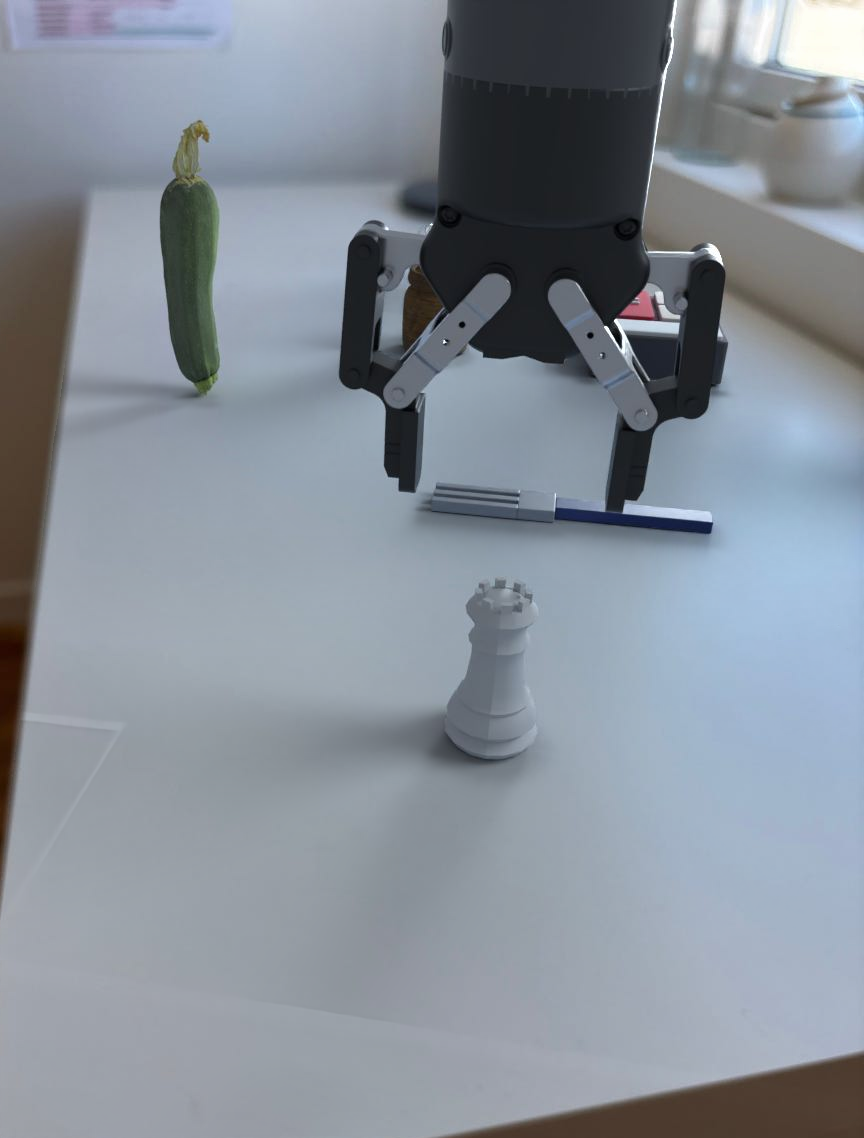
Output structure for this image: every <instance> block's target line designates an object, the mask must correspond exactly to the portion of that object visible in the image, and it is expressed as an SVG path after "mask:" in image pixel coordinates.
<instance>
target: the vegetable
mask: <svg viewBox="0 0 864 1138" xmlns="http://www.w3.org/2000/svg"><path fill="white" fill-rule="evenodd" d="M182 133H183V134H182V135H180V142H179V143H178V146H177V149H176V151H175V156H174V158H173V162H172V168H171V169H172V171H173V173H174V174H175V175H174V176H175V177H174V178H173V179H172V180H171V181H169V183H168V184H167V185H166V187H165V188H164V190H163V193H162V195H161V199H160V204H159V241H160V251H161V258H162V267H163V281H164V282H163V283H164V289H165V299H166V306H167V317H168V318H167V319H168V329H169V337H170V342H171V346H172V349H173V353H174V356H175V359H176V363H177V365H178V368H179V369H178V370H179V371H180V373H181V374H182V375H183V377H184V378H185V379H186V380H188V381H190V382H191V383H192V384H193V386H194V387H195V389H196V390H198V392H200V393H201V394H202V395H204V396H207V392H210V390H211V389H212V388H213V386H214V384H215V383H216V382H218V381H219V380H218V379H219V374H218V371H219V370H220V365H221V355H220V349H219V341H218V335H217V334H218V332H217V325H216V324H217V323H216V317H215V311H214V301H213V298H214V297H213V283H214V282H213V281H214V274H215V269H216V264H217V257H218V244H219V236H220V234H219V233H220V209H219V204H218V199H217V196H216V194H215V191H214V190H213V188H212V186H211V185H210V184H209V183H208V182H207V181H206V180H205V179H203V178H202V177H201V176H200V175H197V174H198V173H199V172H202V167H200V161H201V158H200V157H201V156H200V145H199V138H201V140H203V141H204V142H205V143H210V141H209V140H210V136H211V133H210V132H209V130H208V127H207V125H206V124H205V122H204V121H203V120H202V119H198V120H196V121H194V122H192V123H190V124H189V125H188V127H186V128H184V129H182Z"/></svg>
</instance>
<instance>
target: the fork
mask: <svg viewBox="0 0 864 1138" xmlns="http://www.w3.org/2000/svg"><path fill="white" fill-rule="evenodd" d="M430 511H432V512H440V513H450V514H451V513H452V514H461V515H472V516H484V517H493V518H501V519H502V518H503V519H512V520H513V519H515V520H524V521H525V520H526V521H533V522H534V521H535V522H545V523H546V522H547V523H554V522H555V519H558V520H568V521H570V520H571V521H579V522H587V523H588V522H589V523H590V522H591V523H599V524H600V523H601V524H609V525H621V526H631V527H642V528H652V529H663V530H673V531H684V532H694V533H703V534H712V531H713V526H714V520H713V519H714V518H713V513H712V511H705V510H695V509H685V508H677V507H676V508H675V507H664V506H653V505H642V504H634V503H633V504H631V503H624V509H623V513H614V512H605V501H600V500H589V499H580V498H579V499H578V498H568V497H559V496H558V497H557V493H554V492H545V491H536V490H535V491H534V490H523V489H516V488H515V489H513V488H504V487H492V486H481V485H471V484H460V483H450V482H449V483H448V482H440V481H439V482H436V483H435V489H434V490H433V494H432V497H431V501H430Z"/></svg>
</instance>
